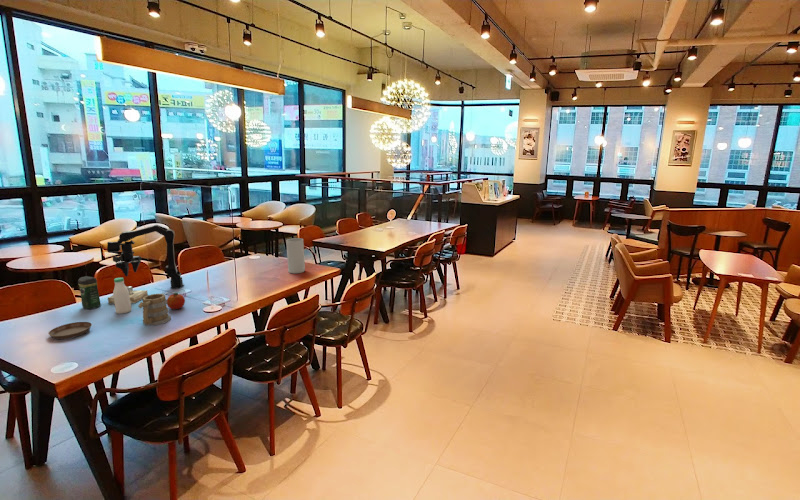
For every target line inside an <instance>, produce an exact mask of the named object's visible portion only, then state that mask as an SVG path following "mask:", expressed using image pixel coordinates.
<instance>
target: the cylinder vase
mask: <svg viewBox="0 0 800 500" xmlns="http://www.w3.org/2000/svg"><path fill="white" fill-rule="evenodd" d="M285 242H286V256H287V257H286V258H287V270H288V273H289V274H302V273H304V272H305V270H306V266H305V246H304V245H305V244H304V238H302V237H301V238H300V237H299V238H298V237H295V238H294V237H292V238H288V239H286V241H285Z"/></svg>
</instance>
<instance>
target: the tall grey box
mask: <svg viewBox="0 0 800 500" xmlns="http://www.w3.org/2000/svg"><path fill="white" fill-rule="evenodd" d="M125 286H126V285H125ZM126 287H127V289H128V291H129V295H132V294H133V291H134V289H133V288H134V287H133V286H130V285H129V286H126Z"/></svg>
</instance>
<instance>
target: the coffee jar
mask: <svg viewBox="0 0 800 500" xmlns="http://www.w3.org/2000/svg"><path fill="white" fill-rule="evenodd" d="M77 285H78V287H79V292H80V299H81V307H82V308H83V309H86V310H90V309H97V308H99V307H101V299H100V293H99V288H98V279H97V277H93V276H88V275H86V276H81V277H79V279H78V280H77Z"/></svg>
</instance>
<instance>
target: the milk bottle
mask: <svg viewBox="0 0 800 500" xmlns="http://www.w3.org/2000/svg"><path fill="white" fill-rule="evenodd" d="M113 282H114V289H113V292H112V295H113V297H114V303H113V304H114V308H115V309H114V310H115V313H116V314H120V315H121V314H126V313H129V312H131V311H132V303H131V302H130V296H129V291H128V289H127V287H126V284H125V279H124V277H116V278H114V279H113Z"/></svg>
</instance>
